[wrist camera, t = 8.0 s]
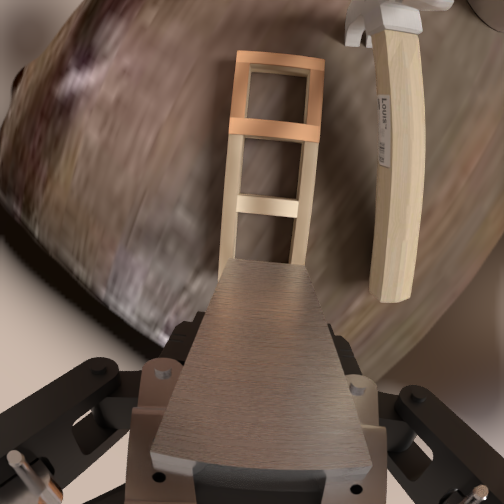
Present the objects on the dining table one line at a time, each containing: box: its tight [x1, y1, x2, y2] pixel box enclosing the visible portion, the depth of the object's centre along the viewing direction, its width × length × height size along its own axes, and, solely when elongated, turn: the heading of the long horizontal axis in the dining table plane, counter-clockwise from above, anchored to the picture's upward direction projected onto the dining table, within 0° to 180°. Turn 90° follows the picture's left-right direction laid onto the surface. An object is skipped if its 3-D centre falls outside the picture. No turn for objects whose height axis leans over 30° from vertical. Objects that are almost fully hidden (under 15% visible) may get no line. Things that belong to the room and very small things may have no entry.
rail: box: [218, 51, 325, 281], centre depth 27 cm, size 8×22×3 cm, turn 175°
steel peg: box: [150, 258, 373, 492], centre depth 10 cm, size 4×4×12 cm
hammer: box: [345, 0, 454, 303], centre depth 22 cm, size 16×5×30 cm
